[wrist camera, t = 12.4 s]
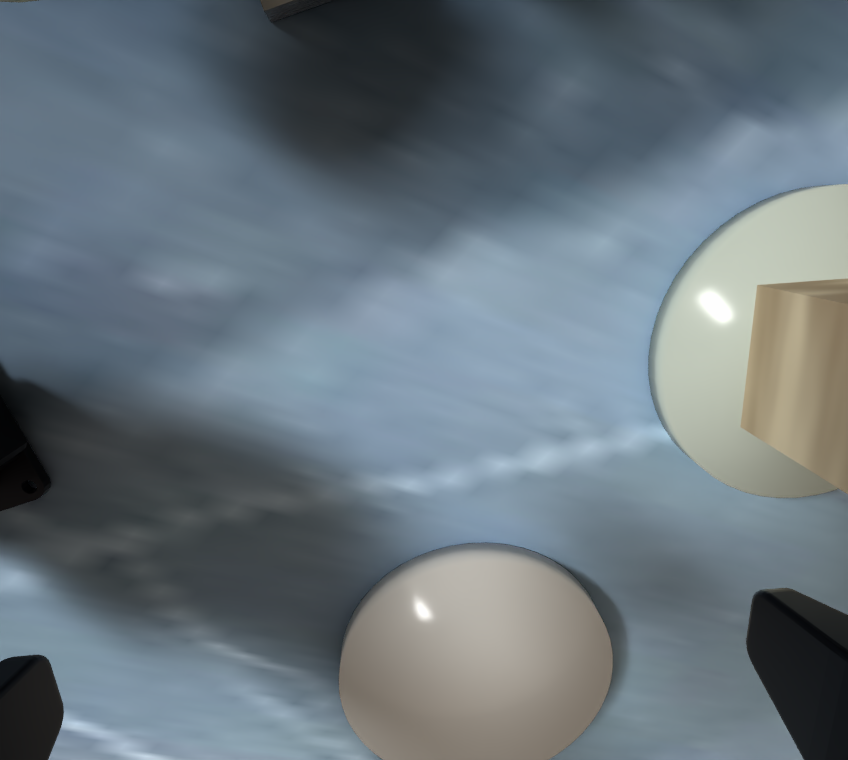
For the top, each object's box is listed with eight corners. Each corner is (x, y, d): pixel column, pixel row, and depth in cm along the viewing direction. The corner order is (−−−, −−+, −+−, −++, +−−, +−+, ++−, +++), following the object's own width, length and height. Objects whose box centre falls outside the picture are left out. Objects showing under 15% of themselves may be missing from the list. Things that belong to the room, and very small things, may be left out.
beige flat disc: (391, 784, 25) (392, 811, 24) (300, 593, 22) (295, 614, 21) (625, 712, 25) (637, 737, 24) (568, 507, 22) (578, 523, 21)
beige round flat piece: (676, 518, 22) (692, 535, 21) (620, 247, 19) (635, 249, 18) (949, 431, 22) (981, 443, 21) (941, 139, 18) (977, 134, 17)
